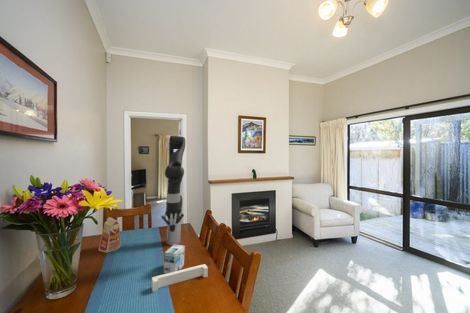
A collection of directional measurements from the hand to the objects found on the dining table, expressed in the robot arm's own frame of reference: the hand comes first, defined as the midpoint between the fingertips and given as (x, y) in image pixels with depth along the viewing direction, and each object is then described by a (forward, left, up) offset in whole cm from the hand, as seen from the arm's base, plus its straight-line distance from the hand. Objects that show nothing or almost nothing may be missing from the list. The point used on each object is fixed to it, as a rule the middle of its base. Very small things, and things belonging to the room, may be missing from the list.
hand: (172, 231), depth 113 cm
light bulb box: (+8, 0, -18) cm, 19 cm away
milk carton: (-34, -30, -18) cm, 49 cm away
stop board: (+20, 0, -18) cm, 27 cm away
